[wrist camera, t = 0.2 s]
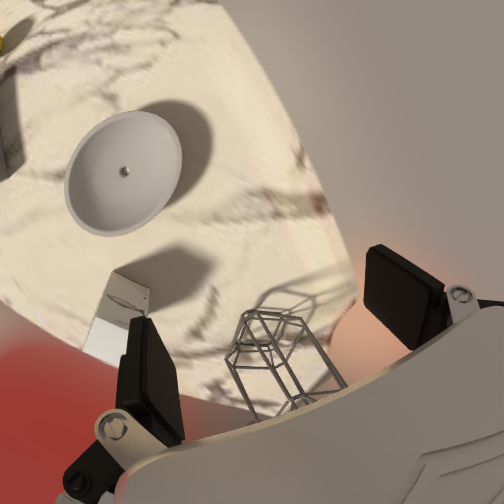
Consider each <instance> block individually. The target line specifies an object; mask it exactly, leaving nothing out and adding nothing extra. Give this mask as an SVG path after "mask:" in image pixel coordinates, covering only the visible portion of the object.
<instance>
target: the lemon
mask: <svg viewBox="0 0 504 504" xmlns="http://www.w3.org/2000/svg"><path fill="white" fill-rule="evenodd" d="M2 45H3V40H2V37H1V36H0V51H1V49H2Z"/></svg>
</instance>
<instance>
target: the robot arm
mask: <svg viewBox="0 0 504 504" xmlns="http://www.w3.org/2000/svg"><path fill="white" fill-rule="evenodd" d="M444 286H445V284H443V283H442V282H440V281H439V280H437V279H436V278H434V277H433V276H431V275H430V274H428V273H427V272H425V271H424V270H422V269H421V268H419V267H418V266H416V265H414V264H413V263H411V262H410V261H408V260H407V259H405V258H404V257H402V256H400V255H399V254H397V253H395V252H394V251H392V250H391V249H389V248H387V247H386V246H384V245H382V244H379V245H376V246H373V247H370V248H369V250H368V252H367V253H366V269H365V287H364V305H365V307H366V308H367V309H368V310H369V311H370V312H371V313H372V314H373V315H374V316H376V317H377V318H378V319H379V320H380V321H381V322H382V323H383V324H384V325H385V326H386V327H387V328H388V329H389V330H390V331H391V332H392V333H393V334H394V335H395V336H396V337H397V338H398V339H399V340H400V341H401V342H402V343H403V344H404V345H405V346H406V347H407V348H408V349H409V350H413V351H412V352H411V353H409V354H408V355H406V356H404V357H403V358H401V359H399V360H398V361H396V362H394V363H393V364H391V365H389V366H387V367H386V368H384V369H382V370H380V371H378V372H376V373H375V374H373V375H371V376H369V377H367V378H365V379H363V380H361V381H359V382H357V383H355V384H353V385H351V386H349V387H347V388H345V389H343V390H341V391H339V392H336V393H334V394H332V395H330V396H328V397H325V398H323V399H321V400H318V401H316V402H314V403H311V404H309V405H306V406H304V407H301V408H299V409H296V410H294V411H291V412H288V413H286V414H283V415H280V416H277V417H275V418H272V419H269V420H266V421H263V422H259V423H256V424H253V425H250V426H247V427H243V428H240V429H237V430H233V431H230V432H226V433H223V434H219V435H215V436H211V437H208V438H203V439H199V440H196V441H192V442H188V443H184V444H182V443H181V441H183V440H185V434H184V427H183V421H182V414H181V408H180V400H179V391H178V382H177V373H176V368H175V365H174V363H173V361H172V359H171V357H170V355H169V353H168V352H167V350H166V348H165V346H164V344H163V342H162V340H161V338H160V336H159V334H158V332H157V330H156V328H155V326H154V323H153V321H152V319H151V318H146V317H145V316H144V315H143V316H139V317H135V318H131V319H130V325H129V332H128V339H127V348H126V354H123V355H121V357H120V363H119V373H118V381H117V392H116V406H115V409H111V410H108V411H106V412H105V413H103V414H102V415H101V416H100V417H99V418H98V419H97V422H96V423H95V429H94V430H95V435H96V437H97V440H96V441H95V442H94V443H93V444H92V445H91V446H90V447H89V448H88V449H87V450H86V451H85V452H84V453H83V454H82V455H81V456H80V457H79V458H78V459H77V460H76V461H75V462H74V463H73V464H72V465H71V466H70V467H69V468H68V469H67V470H66V471H65V473H64V476H63V486H64V489H65V492H64V494H61V493H60V494H59V496H58V498H57V500H56V502H55V504H504V302H502V301H491V300H479V299H477V298H476V296H475V294H474V292H473V291H472V290H471V289H469V288H468V287H465V286H463V285H453V286H450V287H449V288H448V289H447V292H444Z"/></svg>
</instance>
